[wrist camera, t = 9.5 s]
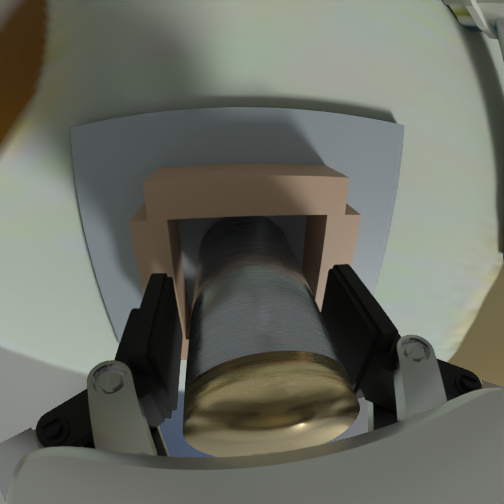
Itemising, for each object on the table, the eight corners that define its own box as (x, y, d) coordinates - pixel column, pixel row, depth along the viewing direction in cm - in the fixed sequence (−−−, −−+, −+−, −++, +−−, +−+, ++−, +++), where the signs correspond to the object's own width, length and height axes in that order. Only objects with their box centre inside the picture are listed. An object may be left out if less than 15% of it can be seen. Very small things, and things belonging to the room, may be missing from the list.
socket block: (75, 126, 10) (40, 133, 7) (397, 124, 12) (436, 131, 9) (126, 347, 17) (116, 383, 14) (355, 333, 18) (373, 364, 15)
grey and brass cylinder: (195, 214, 12) (162, 394, 4) (292, 212, 13) (385, 370, 5) (202, 294, 14) (197, 462, 7) (285, 290, 15) (335, 447, 7)
